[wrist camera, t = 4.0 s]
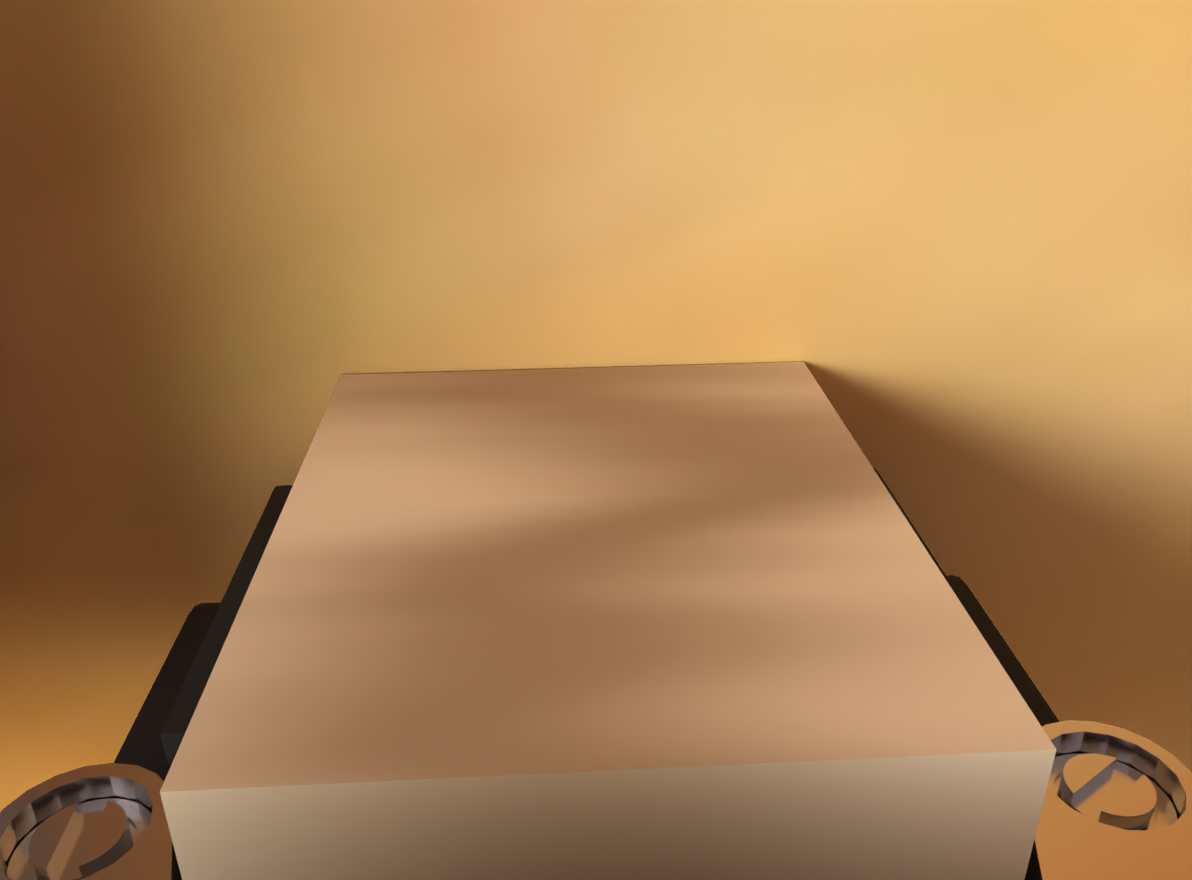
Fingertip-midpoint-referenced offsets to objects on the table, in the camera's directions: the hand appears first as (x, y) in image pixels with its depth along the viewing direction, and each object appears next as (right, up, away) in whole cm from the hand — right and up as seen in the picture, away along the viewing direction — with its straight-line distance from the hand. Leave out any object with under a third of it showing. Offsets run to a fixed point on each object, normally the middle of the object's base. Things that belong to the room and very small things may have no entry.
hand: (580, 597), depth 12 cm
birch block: (0, 0, +1) cm, 1 cm away
